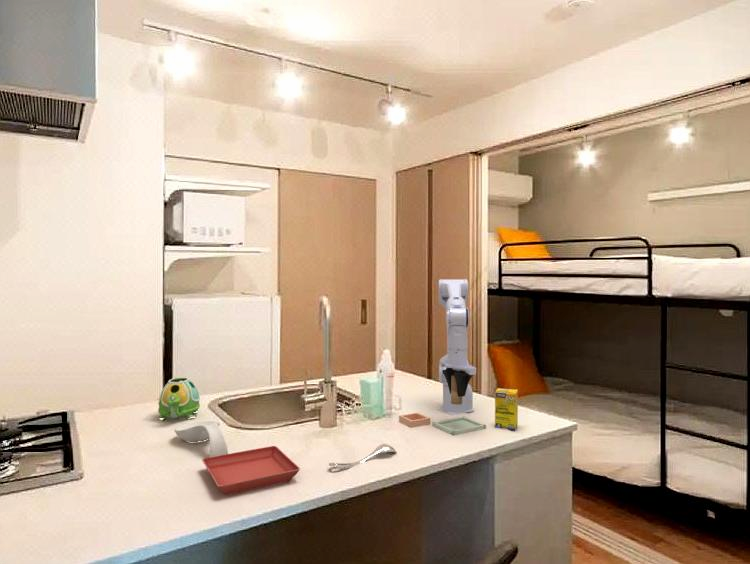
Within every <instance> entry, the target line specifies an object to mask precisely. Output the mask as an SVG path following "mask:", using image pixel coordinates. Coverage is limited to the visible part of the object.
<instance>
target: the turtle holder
mask: <svg viewBox="0 0 750 564" xmlns="http://www.w3.org/2000/svg"><path fill="white" fill-rule="evenodd" d="M200 399H201V397H200V394H199V391H198V389H197V386H196V385H195V383H193V381H192V380H191V379H190V378H189V377H173V378H171V379H169V380H168V381H167V383H166V384H165V386H163V388H162V390H161V392H160V394H159V398H158V402H157V404H158V411H157V412H158V414H159V416H158V418H165V419H166V417H167V418H172V419H177V418H179V417H182V416H183V417H185V419H187V418H190V417H194V416H196V415H195V414H194V413H193V412H196V411H198V412H199V409H200V406H201V404H200Z"/></svg>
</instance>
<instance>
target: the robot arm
mask: <svg viewBox="0 0 750 564" xmlns="http://www.w3.org/2000/svg"><path fill="white" fill-rule="evenodd" d="M468 296H469V280H468V279H467V278H465V279H464V278H463V279H443V278H440V279H439V280H438V303H439V305H440V306H442V307H443V308H444V310H445V323H446V347H447V349H446V352H447V353H446V354H445V355H444V356H443V357H441V358H440V359H439V360H438V361H439V366H438V381H439V382H440V384H442V407H437V410H439V411H440V412H444V413H446V414H449V415H451V416H455V415H458V414H459V415H460V414H467V413H472V412H475V409H474V408H473V402H474V401H473V397H474V396H473V393H474V391H473V389H472V386H471V385H470V384H469V383H470V381H471V379H472V377H473V376H474V375H477V367H474V366H473V365H470V363H469V361H468V328H469V325H470V311H469V308H468V307H466V305H467V302H468ZM452 375H454V376H455V379H456V384H457V394H458V397H462V404H459V405H456V404H452V403H451V376H452Z"/></svg>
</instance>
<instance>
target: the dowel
mask: <svg viewBox="0 0 750 564" xmlns="http://www.w3.org/2000/svg"><path fill="white" fill-rule="evenodd" d="M451 403H452V404H456V405H459V404H462V397H458V394H457V384H456V379H455V376H454V375H452V376H451Z"/></svg>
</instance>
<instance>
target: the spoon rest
mask: <svg viewBox="0 0 750 564" xmlns="http://www.w3.org/2000/svg"><path fill="white" fill-rule="evenodd" d="M174 432H175V435H176V436H177V437H178V438H180V439H181V440H183V441H184V442H186V441H189V442H198V441H204V440H207V439H209V440H207V441H209V453H208V454H209V456H208V458H209V457H214V456H220V455H225V454H229V449H228V445H227V442H226V440H225V437H224V435H223V431H222V430H221V428H220V422H219V421H213V420H203V421H202V420H201V421H194V422H189V423H185V424H182V425H178V426H177V427H175V428H174Z"/></svg>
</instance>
